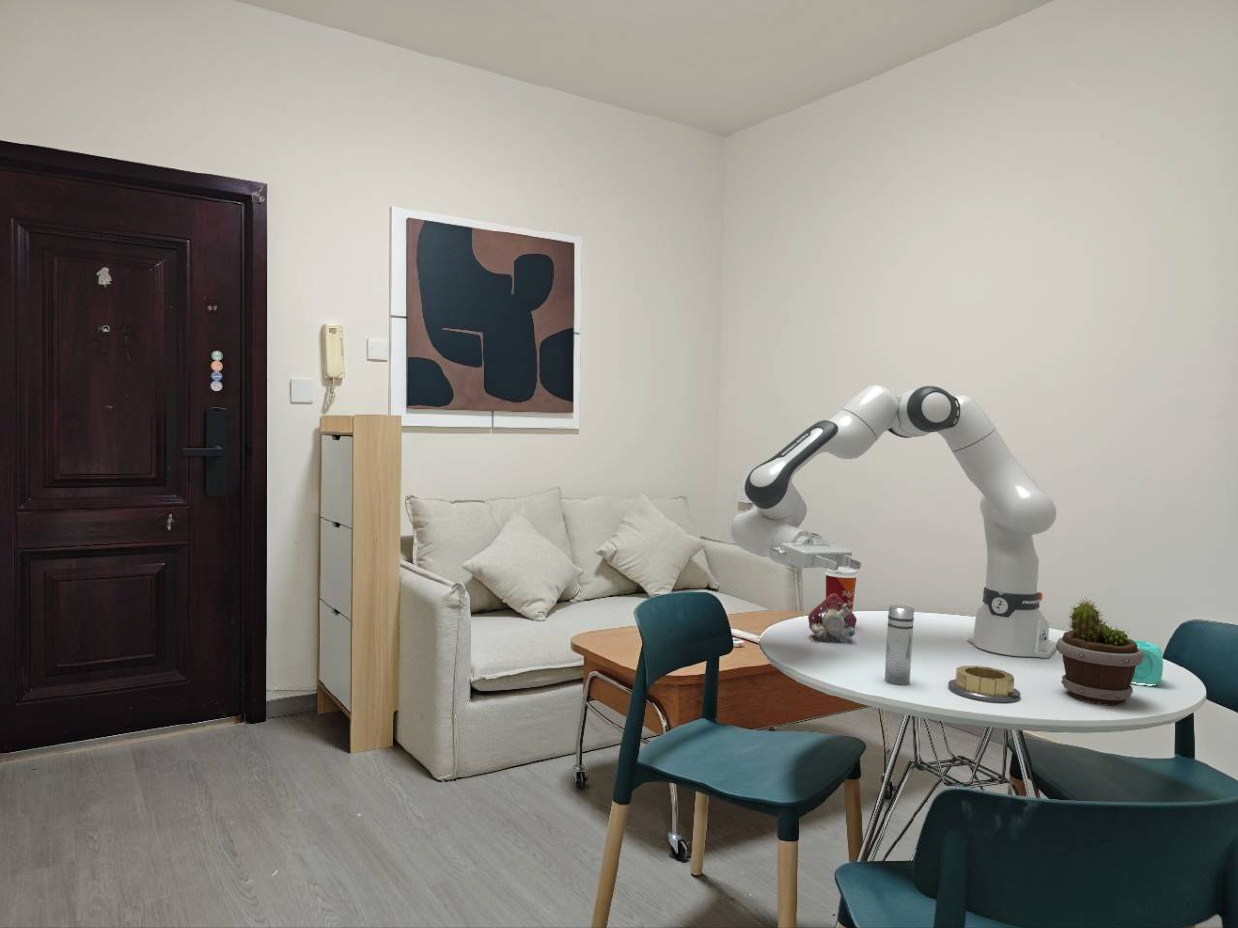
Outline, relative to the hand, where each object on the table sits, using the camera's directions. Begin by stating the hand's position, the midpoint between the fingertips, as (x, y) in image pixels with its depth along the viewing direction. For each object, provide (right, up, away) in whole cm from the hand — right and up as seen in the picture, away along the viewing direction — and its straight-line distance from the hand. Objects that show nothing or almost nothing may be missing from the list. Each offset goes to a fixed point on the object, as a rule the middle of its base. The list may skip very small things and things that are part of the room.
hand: (848, 566), depth 180 cm
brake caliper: (+3, -21, +26) cm, 33 cm away
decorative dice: (+61, -25, +1) cm, 66 cm away
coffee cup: (+8, -21, +39) cm, 44 cm away
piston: (+8, -22, -8) cm, 25 cm away
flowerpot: (+45, -24, -13) cm, 53 cm away
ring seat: (+23, -23, -13) cm, 35 cm away
